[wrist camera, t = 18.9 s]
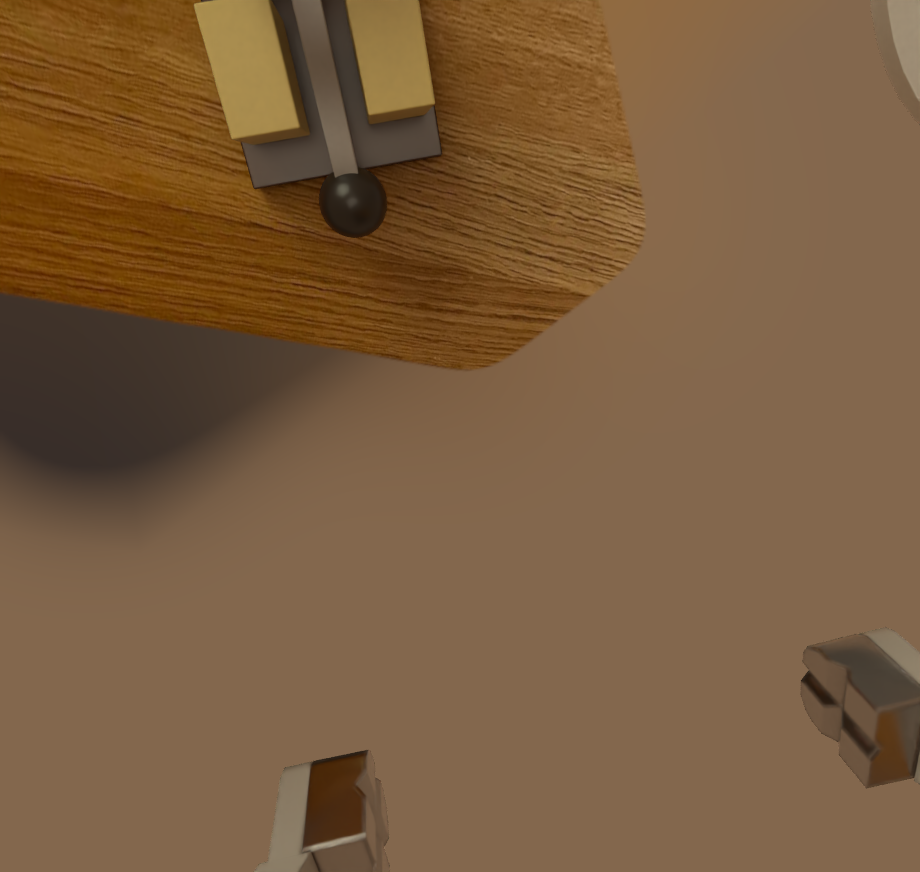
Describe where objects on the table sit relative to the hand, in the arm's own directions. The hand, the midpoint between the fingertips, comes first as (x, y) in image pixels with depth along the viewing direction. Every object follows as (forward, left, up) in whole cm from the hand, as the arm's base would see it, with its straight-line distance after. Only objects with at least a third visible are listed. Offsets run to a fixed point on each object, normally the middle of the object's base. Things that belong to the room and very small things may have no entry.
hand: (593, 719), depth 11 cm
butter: (+3, -15, -28) cm, 31 cm away
